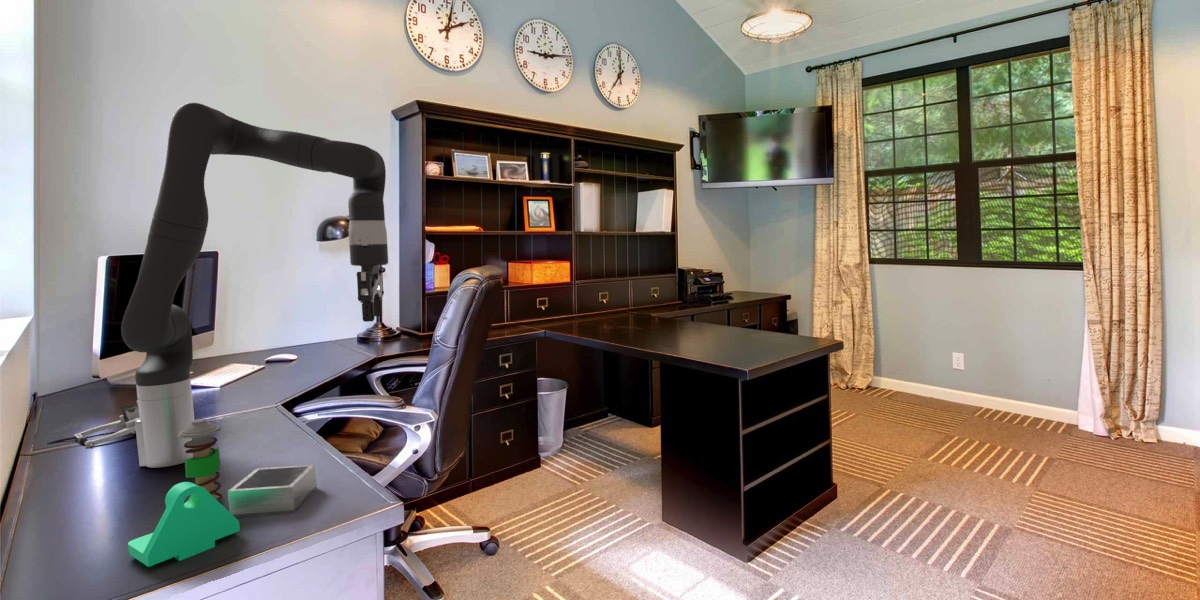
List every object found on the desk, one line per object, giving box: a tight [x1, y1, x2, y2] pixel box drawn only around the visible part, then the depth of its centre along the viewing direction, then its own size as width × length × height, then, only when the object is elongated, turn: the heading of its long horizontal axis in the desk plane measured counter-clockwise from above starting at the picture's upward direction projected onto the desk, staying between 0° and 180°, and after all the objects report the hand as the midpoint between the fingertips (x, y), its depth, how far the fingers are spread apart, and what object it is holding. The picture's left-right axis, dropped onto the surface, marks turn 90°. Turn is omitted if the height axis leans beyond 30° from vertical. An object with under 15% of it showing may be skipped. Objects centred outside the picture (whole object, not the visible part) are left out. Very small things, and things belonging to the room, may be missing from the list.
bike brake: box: [46, 400, 140, 448], centre depth 144 cm, size 14×7×20 cm
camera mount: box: [127, 481, 241, 568], centre depth 89 cm, size 12×8×10 cm, turn 146°
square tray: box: [227, 464, 318, 518], centre depth 104 cm, size 10×10×4 cm
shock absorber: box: [177, 418, 224, 502], centre depth 104 cm, size 6×6×15 cm
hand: (372, 318), depth 128 cm, fingers open, 8 cm apart
